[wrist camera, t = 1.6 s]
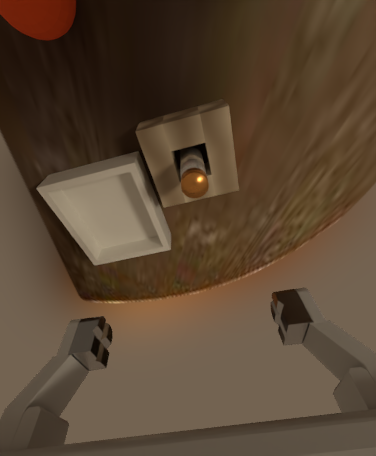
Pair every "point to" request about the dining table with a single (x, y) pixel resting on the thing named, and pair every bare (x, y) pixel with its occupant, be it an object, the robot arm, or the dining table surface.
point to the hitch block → (185, 137)
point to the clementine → (39, 17)
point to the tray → (109, 208)
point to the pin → (193, 172)
